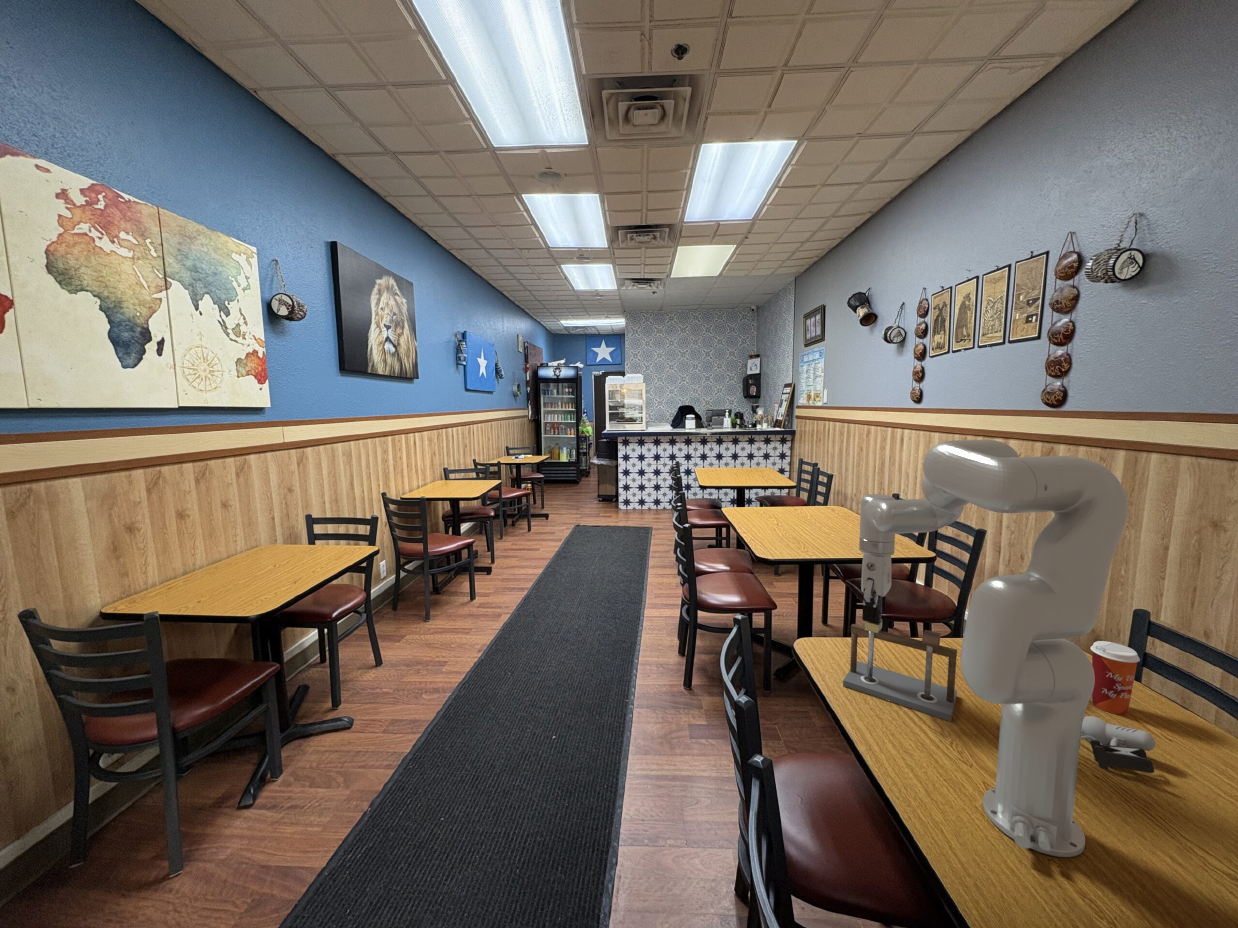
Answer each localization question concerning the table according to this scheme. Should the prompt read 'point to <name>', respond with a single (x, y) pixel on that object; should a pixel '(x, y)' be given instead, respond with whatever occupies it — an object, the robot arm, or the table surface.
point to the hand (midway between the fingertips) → (873, 615)
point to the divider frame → (927, 644)
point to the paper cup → (1113, 676)
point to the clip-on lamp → (1118, 756)
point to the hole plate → (901, 690)
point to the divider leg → (873, 628)
